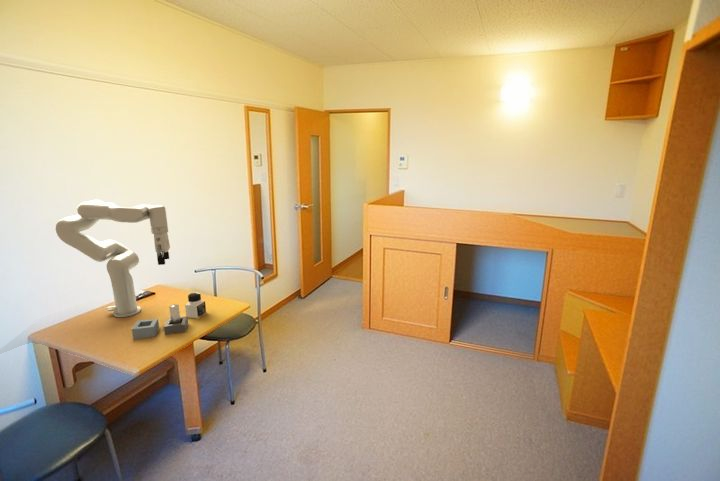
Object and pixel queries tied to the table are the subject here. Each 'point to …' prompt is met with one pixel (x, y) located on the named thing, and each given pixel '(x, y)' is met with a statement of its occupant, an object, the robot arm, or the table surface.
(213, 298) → the table surface
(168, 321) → the grey square ring
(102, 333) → the table surface
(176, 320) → the steel rod
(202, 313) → the medicine bottle
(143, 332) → the socket block
